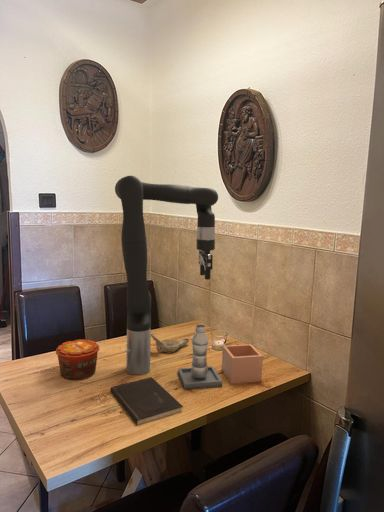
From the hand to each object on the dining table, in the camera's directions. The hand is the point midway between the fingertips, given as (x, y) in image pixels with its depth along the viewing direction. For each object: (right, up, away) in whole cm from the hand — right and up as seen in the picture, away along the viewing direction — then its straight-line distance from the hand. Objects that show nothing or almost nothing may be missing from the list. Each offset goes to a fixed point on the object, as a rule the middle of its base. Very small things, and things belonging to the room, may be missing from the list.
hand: (205, 277), depth 154 cm
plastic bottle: (-3, -37, -12) cm, 39 cm away
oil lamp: (-15, -34, +15) cm, 40 cm away
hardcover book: (-21, -41, -29) cm, 54 cm away
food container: (-49, -37, -10) cm, 62 cm away
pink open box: (+14, -38, -8) cm, 41 cm away
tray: (-3, -38, -13) cm, 40 cm away
